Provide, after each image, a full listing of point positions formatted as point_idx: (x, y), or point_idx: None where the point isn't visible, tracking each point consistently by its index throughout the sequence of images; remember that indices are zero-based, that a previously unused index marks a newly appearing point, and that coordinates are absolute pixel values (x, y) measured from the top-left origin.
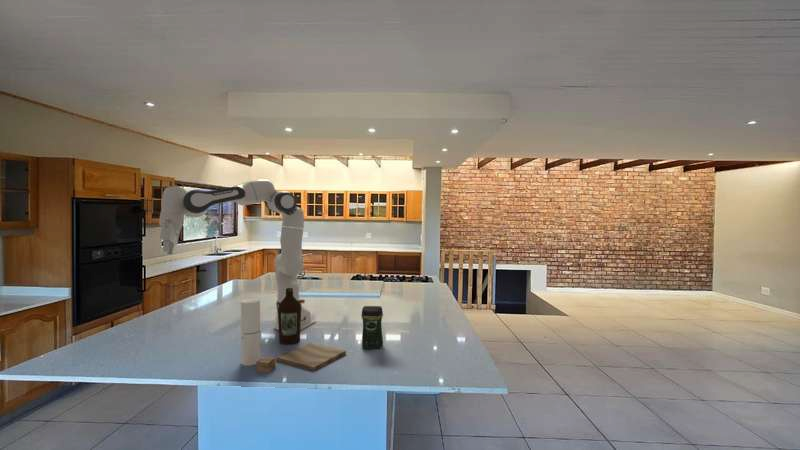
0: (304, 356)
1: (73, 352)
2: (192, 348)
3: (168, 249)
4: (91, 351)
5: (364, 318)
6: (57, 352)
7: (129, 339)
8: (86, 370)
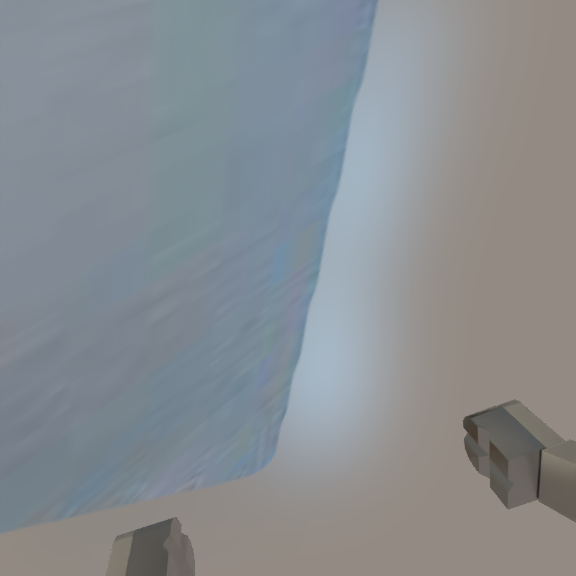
0: None
1: (153, 461)
2: (114, 123)
3: (525, 420)
4: (145, 427)
5: None
6: (152, 494)
7: (15, 415)
8: (279, 333)
